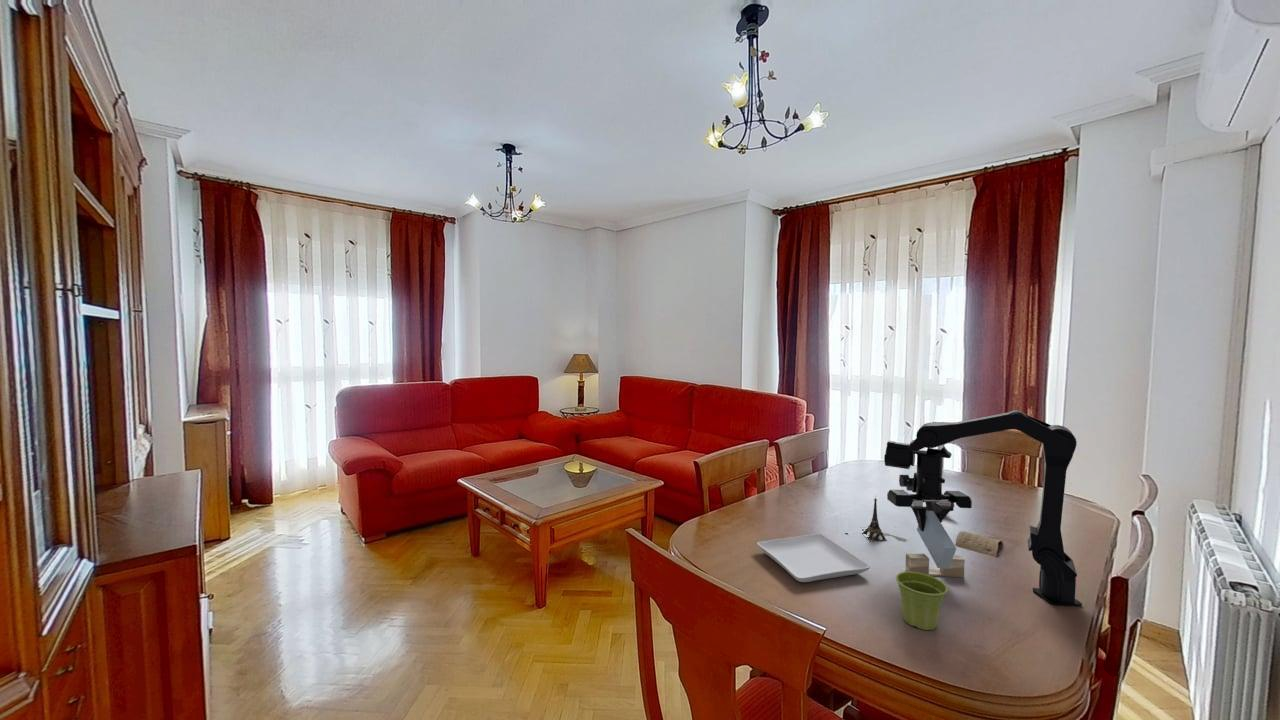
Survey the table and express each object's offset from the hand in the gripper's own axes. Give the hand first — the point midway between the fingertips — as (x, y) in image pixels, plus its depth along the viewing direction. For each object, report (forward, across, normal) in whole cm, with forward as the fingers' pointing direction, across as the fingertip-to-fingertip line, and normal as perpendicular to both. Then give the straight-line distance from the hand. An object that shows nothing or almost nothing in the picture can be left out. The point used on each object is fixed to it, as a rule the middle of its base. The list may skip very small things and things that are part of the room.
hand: (927, 530), depth 127 cm
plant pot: (+10, +14, +26) cm, 31 cm away
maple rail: (+10, 0, +4) cm, 10 cm away
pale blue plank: (+4, 0, +2) cm, 4 cm away
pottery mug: (+10, -23, -40) cm, 47 cm away
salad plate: (+10, +30, +1) cm, 32 cm away
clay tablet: (+10, -22, -15) cm, 28 cm away
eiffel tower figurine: (+10, +6, -18) cm, 22 cm away
